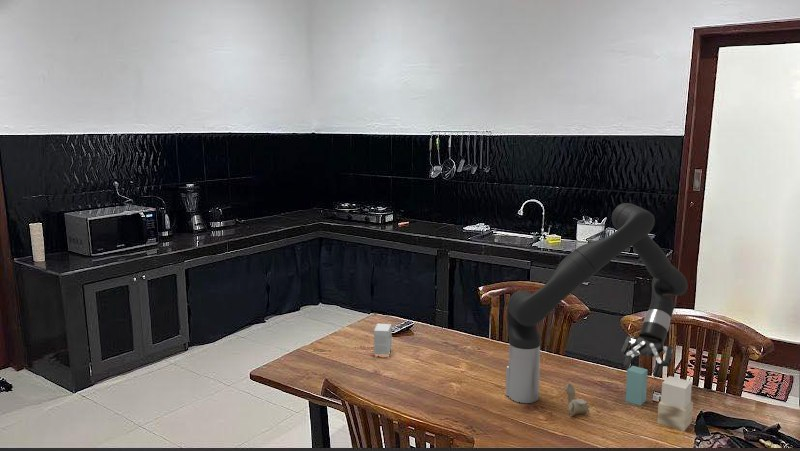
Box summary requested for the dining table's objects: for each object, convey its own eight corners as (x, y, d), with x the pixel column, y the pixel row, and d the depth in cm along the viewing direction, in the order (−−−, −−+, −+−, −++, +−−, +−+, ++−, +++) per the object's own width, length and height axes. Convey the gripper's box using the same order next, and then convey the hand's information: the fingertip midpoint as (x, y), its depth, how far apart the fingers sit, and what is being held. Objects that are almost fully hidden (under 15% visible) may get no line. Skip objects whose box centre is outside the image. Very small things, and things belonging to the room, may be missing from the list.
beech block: (657, 423, 159) (658, 403, 158) (665, 414, 164) (666, 394, 163) (683, 431, 154) (685, 411, 153) (691, 422, 159) (693, 402, 158)
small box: (377, 349, 217) (377, 323, 215) (392, 350, 216) (391, 323, 214) (373, 357, 209) (373, 330, 207) (388, 358, 208) (388, 330, 206)
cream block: (660, 402, 158) (662, 382, 157) (668, 395, 162) (669, 375, 162) (683, 409, 154) (685, 388, 153) (690, 401, 158) (692, 381, 157)
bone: (591, 417, 159) (574, 385, 160) (571, 425, 161) (553, 394, 162) (593, 406, 167) (576, 375, 168) (573, 414, 169) (557, 384, 170)
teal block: (625, 401, 172) (626, 370, 170) (630, 396, 175) (632, 365, 174) (640, 405, 169) (642, 374, 167) (645, 400, 172) (647, 369, 171)
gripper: (629, 316, 182) (614, 360, 176) (677, 325, 173) (662, 373, 166) (635, 328, 187) (620, 371, 180) (681, 337, 178) (667, 384, 171)
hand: (640, 372), depth 173 cm, fingers open, 8 cm apart
